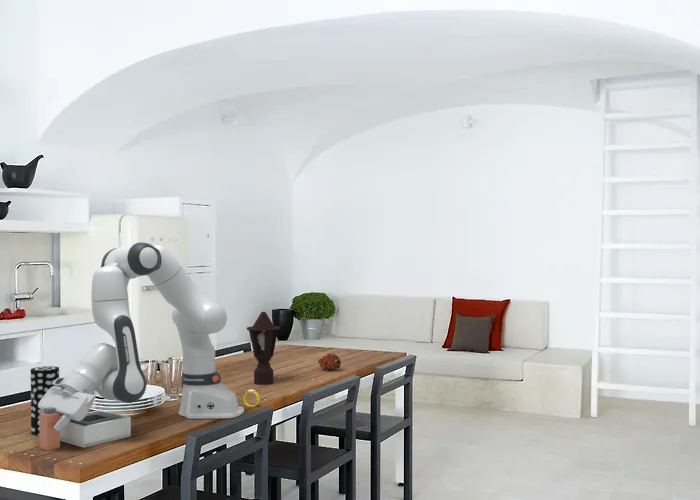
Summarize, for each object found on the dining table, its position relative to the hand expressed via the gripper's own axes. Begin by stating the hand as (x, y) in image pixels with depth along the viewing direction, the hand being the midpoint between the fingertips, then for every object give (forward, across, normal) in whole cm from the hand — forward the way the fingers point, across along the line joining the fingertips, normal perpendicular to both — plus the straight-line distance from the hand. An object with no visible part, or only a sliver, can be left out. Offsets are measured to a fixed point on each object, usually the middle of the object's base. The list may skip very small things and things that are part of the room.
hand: (47, 427), depth 219 cm
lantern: (-74, +22, -82) cm, 112 cm away
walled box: (-6, 0, -15) cm, 16 cm away
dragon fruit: (-103, +20, -111) cm, 153 cm away
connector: (+4, 0, -5) cm, 6 cm away
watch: (-49, -6, -58) cm, 76 cm away
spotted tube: (-2, +18, -11) cm, 21 cm away
